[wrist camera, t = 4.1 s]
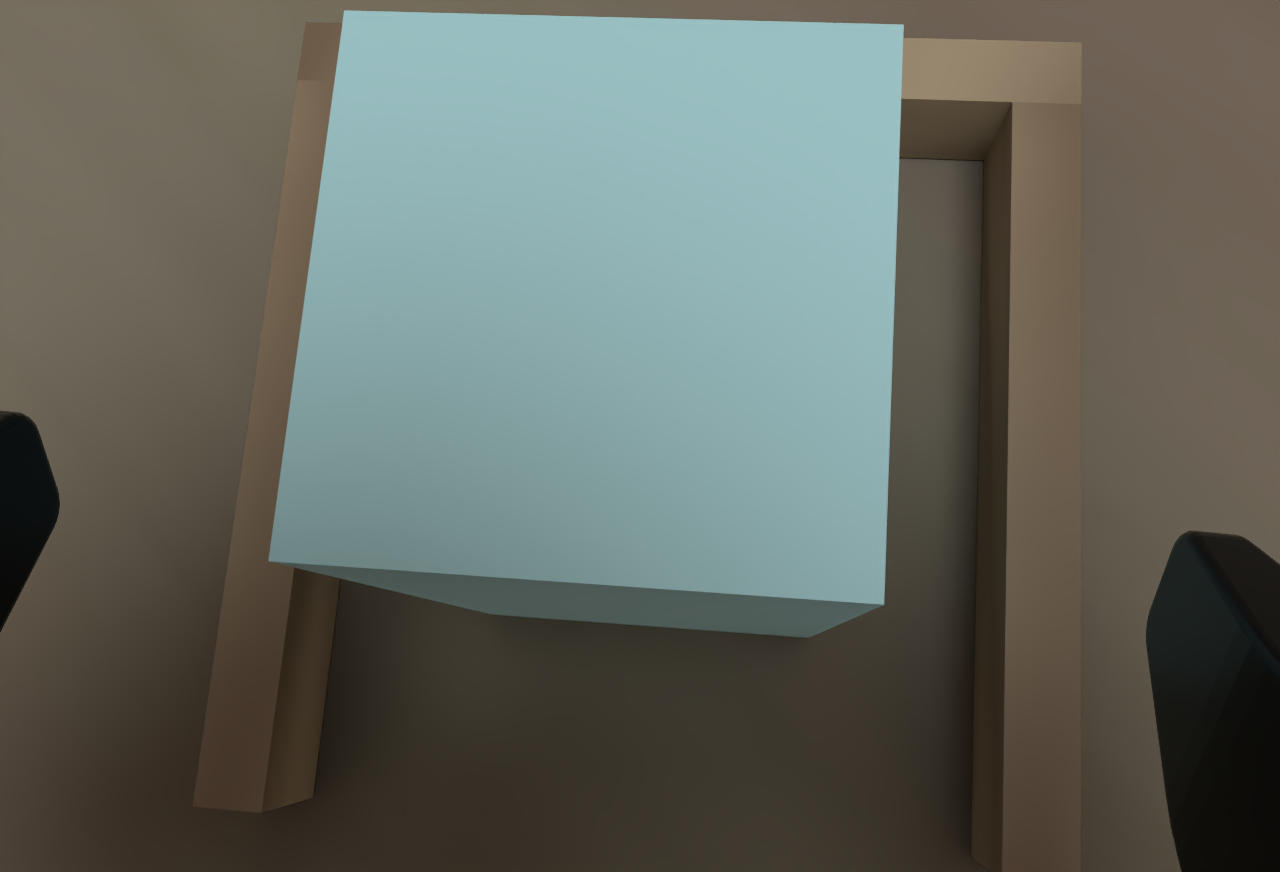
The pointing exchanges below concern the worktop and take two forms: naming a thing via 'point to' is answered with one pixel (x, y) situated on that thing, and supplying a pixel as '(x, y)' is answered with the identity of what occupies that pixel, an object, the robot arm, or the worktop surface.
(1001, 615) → the walnut holder
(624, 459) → the grey-teal block
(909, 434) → the worktop surface
